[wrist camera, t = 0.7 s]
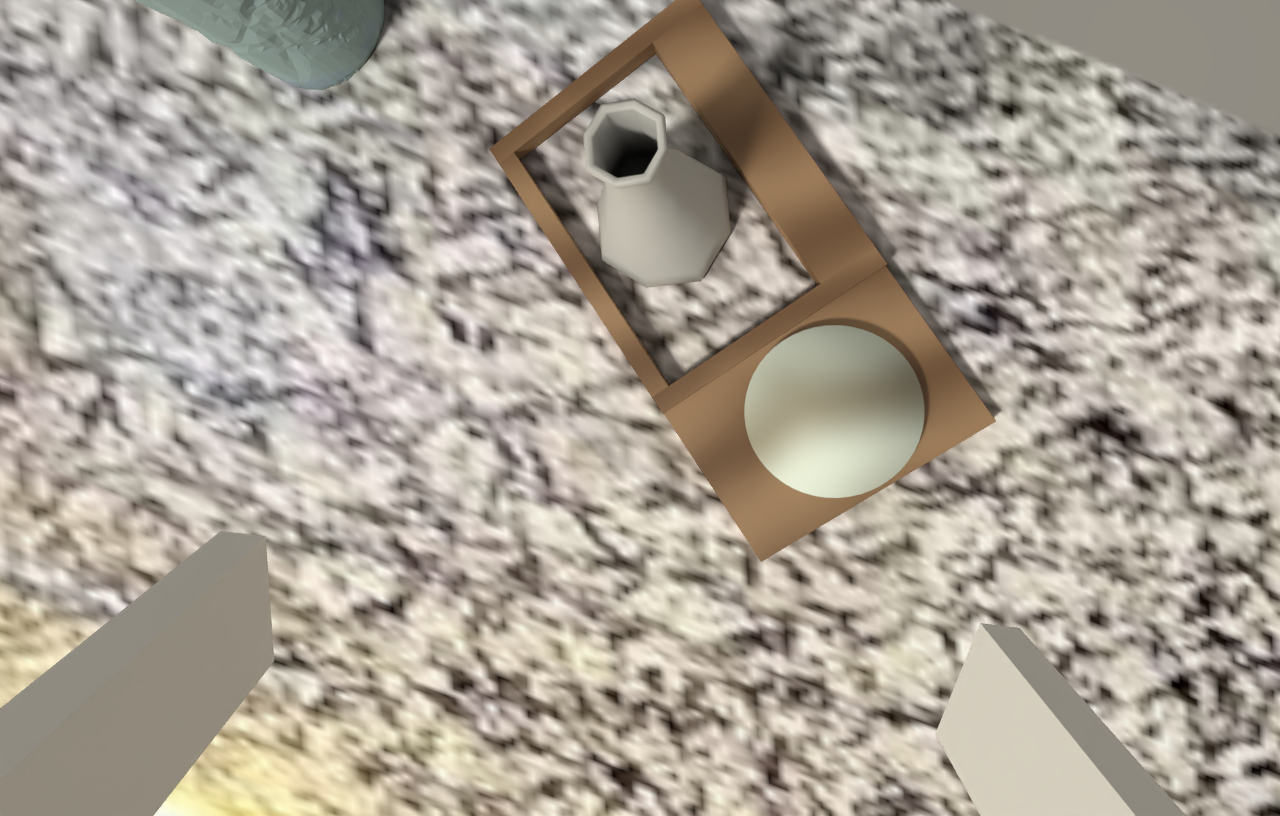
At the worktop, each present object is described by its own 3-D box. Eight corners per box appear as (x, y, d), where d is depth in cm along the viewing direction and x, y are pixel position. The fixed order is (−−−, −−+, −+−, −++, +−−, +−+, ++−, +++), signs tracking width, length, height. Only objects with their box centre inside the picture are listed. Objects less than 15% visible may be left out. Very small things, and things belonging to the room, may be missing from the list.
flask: (747, 164, 31) (746, 55, 21) (714, 302, 31) (697, 259, 21) (614, 141, 32) (553, 28, 22) (583, 274, 32) (511, 222, 23)
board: (990, 420, 29) (1000, 421, 28) (761, 558, 31) (761, 564, 30) (692, 0, 31) (690, -14, 30) (496, 156, 33) (488, 148, 32)
